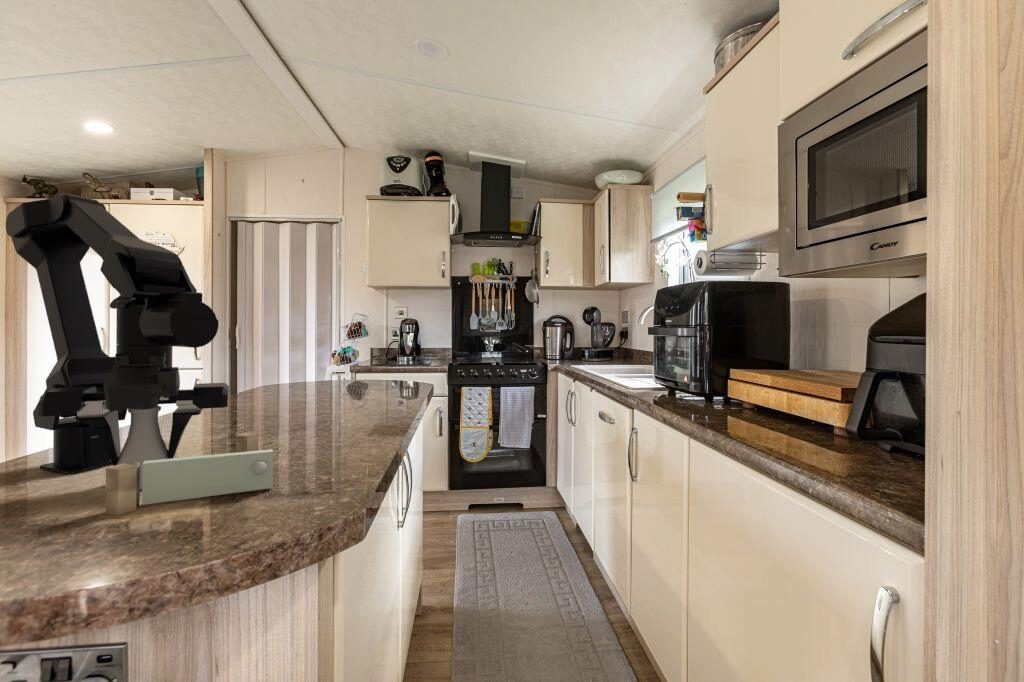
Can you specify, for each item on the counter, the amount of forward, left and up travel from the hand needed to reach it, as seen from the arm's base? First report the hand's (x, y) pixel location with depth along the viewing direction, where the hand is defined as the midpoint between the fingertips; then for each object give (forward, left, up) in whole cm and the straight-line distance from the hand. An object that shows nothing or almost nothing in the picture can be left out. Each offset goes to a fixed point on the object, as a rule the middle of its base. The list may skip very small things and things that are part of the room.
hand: (144, 463), depth 60 cm
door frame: (+7, +1, -3) cm, 8 cm away
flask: (0, 0, -3) cm, 3 cm away
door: (+13, -1, -2) cm, 13 cm away
